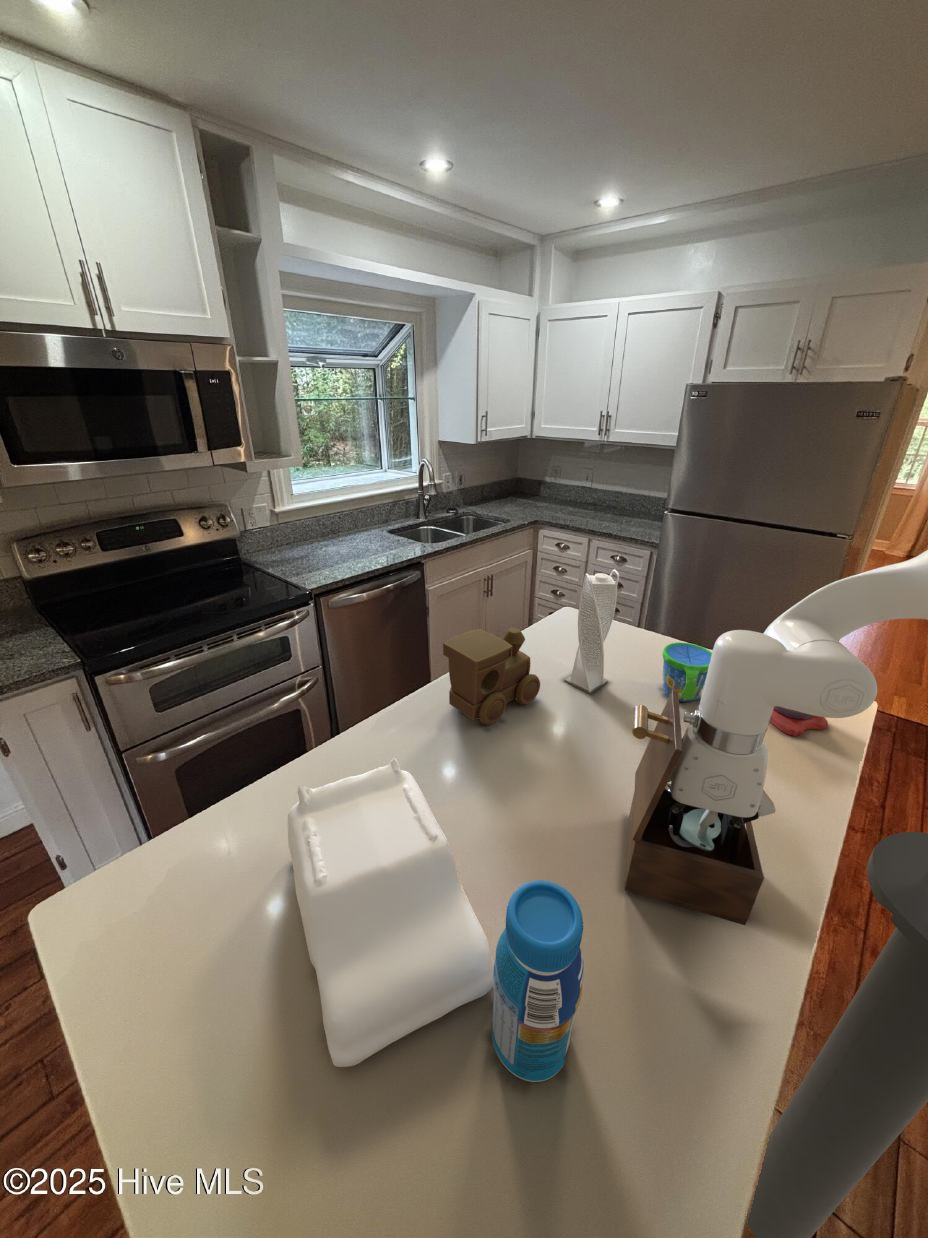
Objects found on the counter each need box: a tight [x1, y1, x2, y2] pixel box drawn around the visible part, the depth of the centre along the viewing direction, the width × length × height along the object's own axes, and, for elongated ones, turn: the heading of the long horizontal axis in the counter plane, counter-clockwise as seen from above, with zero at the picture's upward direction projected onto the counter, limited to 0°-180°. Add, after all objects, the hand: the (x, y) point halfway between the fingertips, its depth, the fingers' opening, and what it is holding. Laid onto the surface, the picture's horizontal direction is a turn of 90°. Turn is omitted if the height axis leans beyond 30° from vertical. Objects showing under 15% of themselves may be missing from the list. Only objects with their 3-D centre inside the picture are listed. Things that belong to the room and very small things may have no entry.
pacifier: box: [669, 809, 721, 851], centre depth 68 cm, size 7×6×6 cm
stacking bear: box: [769, 706, 829, 737], centre depth 99 cm, size 11×10×18 cm
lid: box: [631, 690, 683, 842], centre depth 66 cm, size 16×13×5 cm
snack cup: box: [662, 642, 713, 703], centre depth 108 cm, size 16×10×10 cm
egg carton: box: [287, 757, 495, 1068], centre depth 61 cm, size 19×30×13 cm, turn 26°
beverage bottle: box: [490, 879, 585, 1083], centre depth 48 cm, size 8×8×20 cm
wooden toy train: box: [442, 627, 541, 726], centre depth 102 cm, size 20×11×17 cm, turn 132°
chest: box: [624, 782, 765, 926], centre depth 69 cm, size 15×13×9 cm
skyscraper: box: [563, 568, 620, 694], centre depth 107 cm, size 8×8×28 cm
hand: (699, 833), depth 69 cm, fingers closed on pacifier, 5 cm apart
